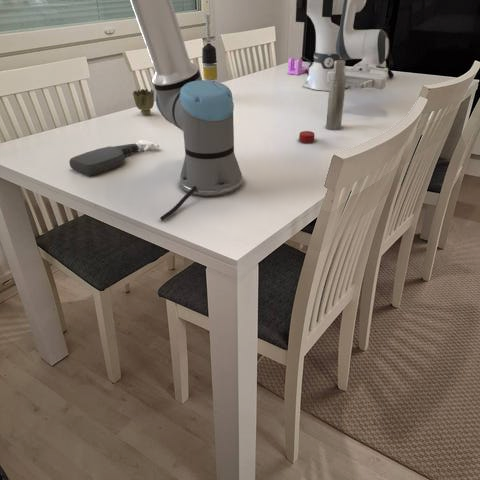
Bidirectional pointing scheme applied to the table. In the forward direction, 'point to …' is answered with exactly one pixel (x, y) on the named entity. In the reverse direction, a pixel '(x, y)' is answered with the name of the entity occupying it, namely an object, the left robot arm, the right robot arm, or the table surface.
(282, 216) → the table surface
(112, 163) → the spray bottle
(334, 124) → the bottle
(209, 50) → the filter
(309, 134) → the cap
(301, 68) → the bracket
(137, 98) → the cup
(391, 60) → the squiggle
